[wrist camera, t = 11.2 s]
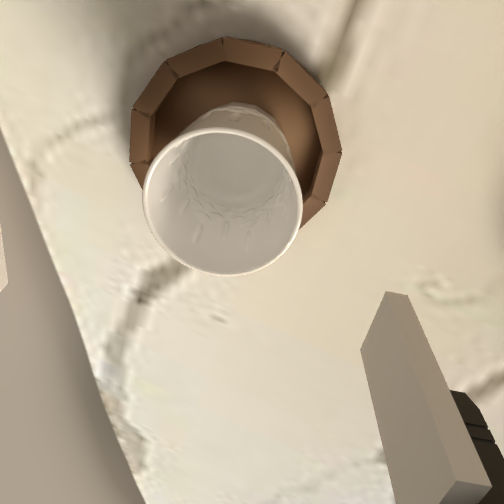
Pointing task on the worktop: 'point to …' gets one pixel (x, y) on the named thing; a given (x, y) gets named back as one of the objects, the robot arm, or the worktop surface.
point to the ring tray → (244, 91)
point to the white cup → (225, 192)
